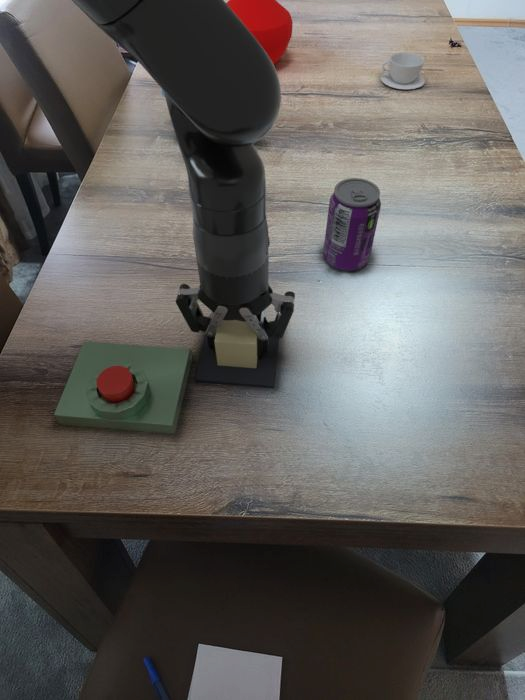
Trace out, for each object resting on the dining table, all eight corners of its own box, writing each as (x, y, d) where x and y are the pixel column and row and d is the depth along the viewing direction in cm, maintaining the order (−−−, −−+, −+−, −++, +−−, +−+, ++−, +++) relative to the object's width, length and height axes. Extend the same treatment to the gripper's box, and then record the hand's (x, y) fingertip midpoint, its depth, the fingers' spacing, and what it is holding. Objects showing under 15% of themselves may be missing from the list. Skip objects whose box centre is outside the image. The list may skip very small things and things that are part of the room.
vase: (266, 40, 126) (265, -53, 111) (306, 67, 116) (312, -31, 101) (202, 57, 120) (193, -40, 105) (238, 86, 111) (234, -15, 96)
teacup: (423, 73, 114) (429, 51, 111) (424, 93, 108) (430, 70, 105) (380, 70, 115) (384, 48, 112) (379, 89, 110) (383, 67, 106)
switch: (95, 401, 56) (91, 392, 55) (106, 372, 59) (102, 364, 57) (130, 404, 56) (126, 395, 54) (138, 375, 58) (135, 366, 57)
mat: (195, 382, 62) (194, 379, 61) (208, 322, 68) (208, 319, 68) (274, 388, 61) (274, 385, 61) (280, 327, 67) (280, 324, 67)
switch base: (59, 424, 58) (47, 407, 55) (88, 351, 65) (79, 332, 62) (175, 434, 57) (169, 417, 54) (192, 359, 64) (188, 340, 61)
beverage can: (374, 271, 74) (390, 204, 65) (329, 276, 73) (338, 209, 64) (361, 240, 78) (374, 173, 69) (318, 245, 78) (325, 178, 68)
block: (217, 365, 63) (214, 341, 59) (223, 335, 66) (220, 310, 62) (256, 368, 62) (255, 344, 58) (260, 338, 65) (260, 313, 62)
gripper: (155, 269, 49) (179, 369, 62) (299, 279, 48) (292, 378, 61) (171, 222, 53) (190, 324, 67) (303, 230, 52) (296, 332, 66)
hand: (239, 349), depth 64 cm, fingers closed on block, 5 cm apart
